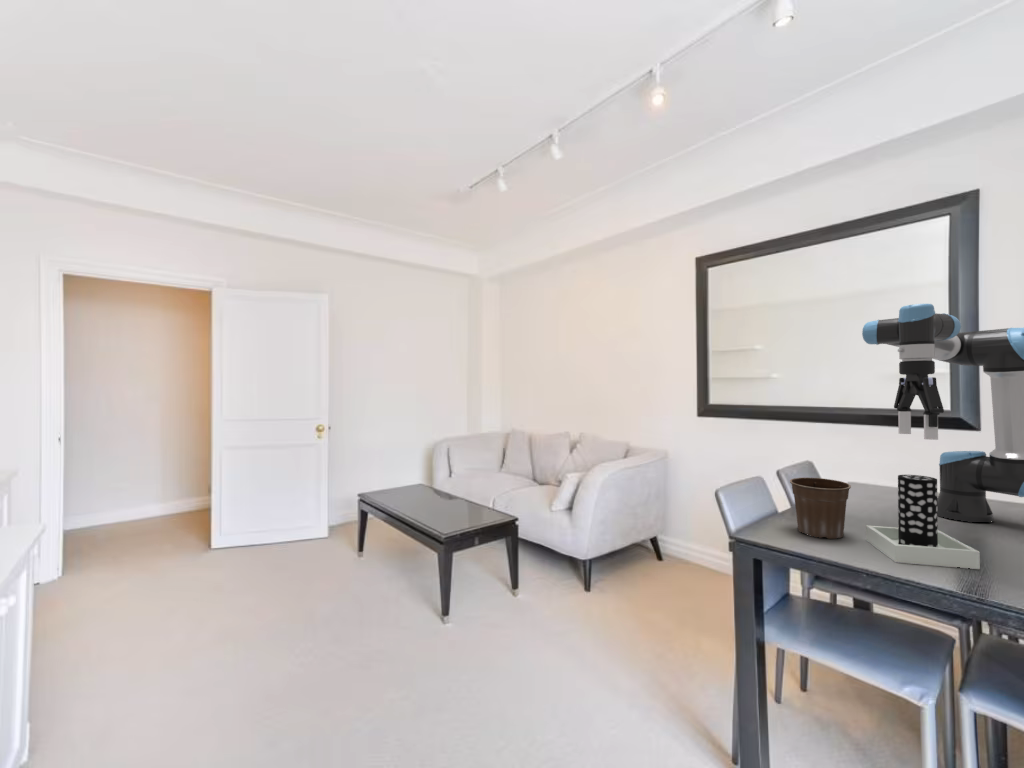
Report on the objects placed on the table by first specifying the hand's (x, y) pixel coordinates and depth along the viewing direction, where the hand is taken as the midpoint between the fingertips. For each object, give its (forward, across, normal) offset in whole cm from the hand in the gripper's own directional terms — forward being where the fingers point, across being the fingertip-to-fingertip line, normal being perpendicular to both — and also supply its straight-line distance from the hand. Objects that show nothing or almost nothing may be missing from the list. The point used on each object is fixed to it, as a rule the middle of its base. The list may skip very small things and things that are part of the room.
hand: (917, 436), depth 130 cm
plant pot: (+33, -13, -20) cm, 41 cm away
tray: (+33, 0, 0) cm, 33 cm away
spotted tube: (+32, 0, 0) cm, 32 cm away
